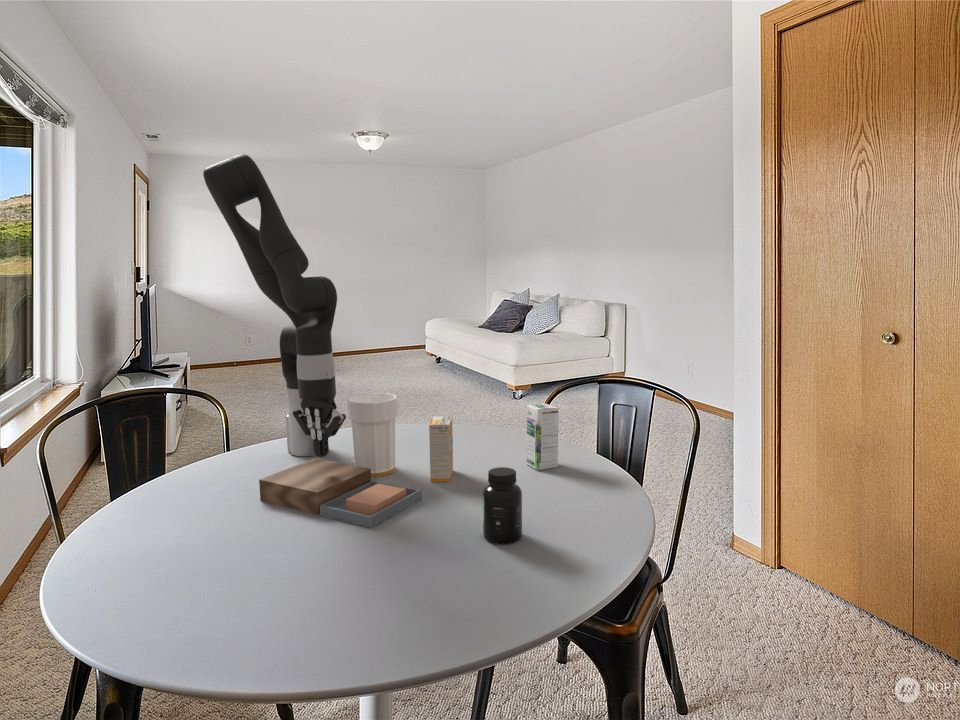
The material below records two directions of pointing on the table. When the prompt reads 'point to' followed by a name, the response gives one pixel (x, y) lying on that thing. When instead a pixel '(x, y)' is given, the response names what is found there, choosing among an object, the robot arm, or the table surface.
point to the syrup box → (542, 436)
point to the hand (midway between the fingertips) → (321, 455)
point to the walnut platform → (312, 484)
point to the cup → (374, 431)
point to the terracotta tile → (374, 499)
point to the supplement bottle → (502, 507)
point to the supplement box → (441, 448)
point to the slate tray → (339, 512)
